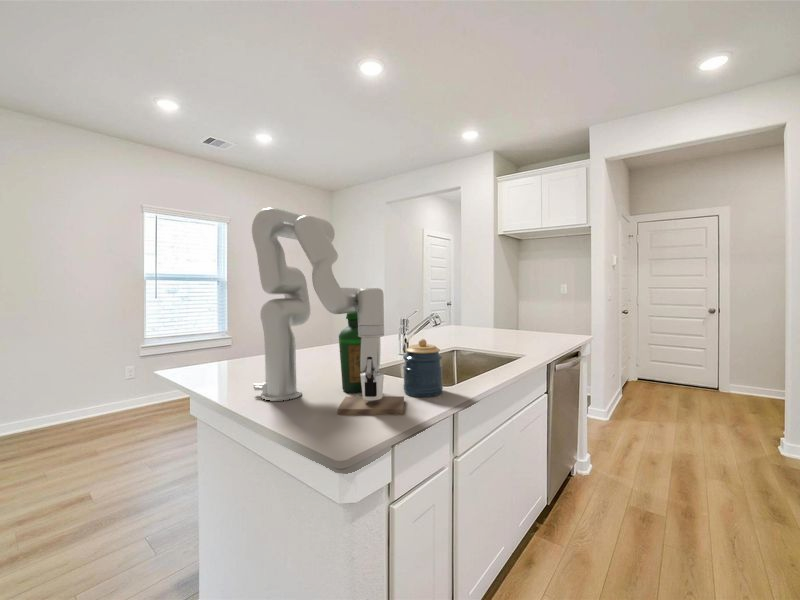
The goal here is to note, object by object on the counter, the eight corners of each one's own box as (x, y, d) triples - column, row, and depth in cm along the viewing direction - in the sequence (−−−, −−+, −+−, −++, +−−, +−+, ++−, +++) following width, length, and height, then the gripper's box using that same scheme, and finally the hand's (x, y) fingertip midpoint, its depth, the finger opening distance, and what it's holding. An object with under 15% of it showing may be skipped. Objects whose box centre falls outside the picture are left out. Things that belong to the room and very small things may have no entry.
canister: (451, 393, 121) (450, 339, 120) (418, 400, 114) (417, 343, 113) (427, 385, 132) (426, 335, 131) (396, 390, 125) (395, 338, 124)
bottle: (364, 395, 120) (362, 308, 119) (334, 393, 123) (332, 308, 122) (375, 386, 130) (374, 307, 129) (347, 385, 133) (346, 307, 132)
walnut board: (337, 414, 102) (337, 409, 102) (345, 401, 114) (345, 396, 114) (403, 414, 101) (403, 409, 101) (404, 401, 113) (404, 396, 113)
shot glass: (385, 394, 110) (385, 370, 110) (382, 401, 103) (382, 376, 103) (363, 394, 111) (362, 370, 111) (358, 400, 104) (357, 376, 104)
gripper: (362, 328, 116) (363, 385, 116) (353, 334, 98) (354, 401, 99) (386, 327, 115) (387, 384, 116) (381, 334, 98) (382, 401, 98)
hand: (372, 392), depth 107 cm, fingers closed on shot glass, 6 cm apart
